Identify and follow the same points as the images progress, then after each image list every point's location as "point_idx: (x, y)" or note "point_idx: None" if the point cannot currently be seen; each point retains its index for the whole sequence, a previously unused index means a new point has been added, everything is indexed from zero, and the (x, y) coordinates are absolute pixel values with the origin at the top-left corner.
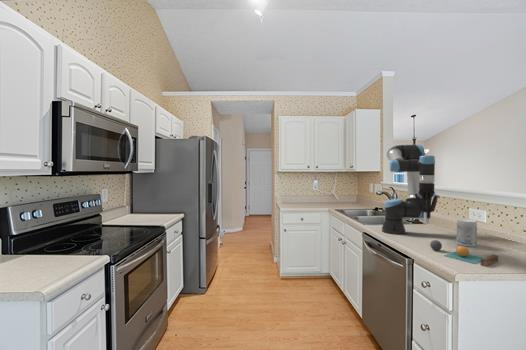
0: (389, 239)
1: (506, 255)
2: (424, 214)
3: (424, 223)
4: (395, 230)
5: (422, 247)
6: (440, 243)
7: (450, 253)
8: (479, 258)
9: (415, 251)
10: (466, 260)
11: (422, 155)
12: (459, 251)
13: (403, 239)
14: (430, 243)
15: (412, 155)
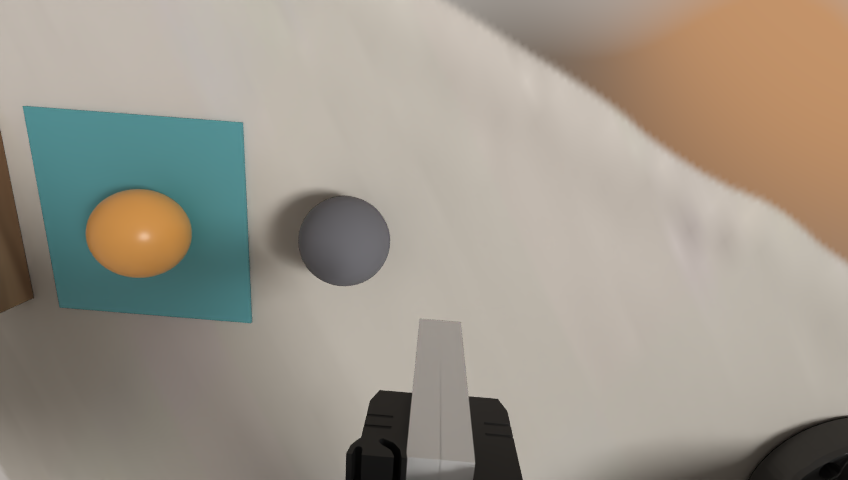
0: (770, 231)
1: (67, 467)
2: (452, 422)
3: (446, 322)
4: (824, 462)
5: (455, 220)
6: (301, 248)
7: (244, 223)
8: (84, 263)
9: (432, 44)
10: (91, 134)
11: None
12: (133, 190)
13: (673, 331)
14: (378, 221)
15: None
